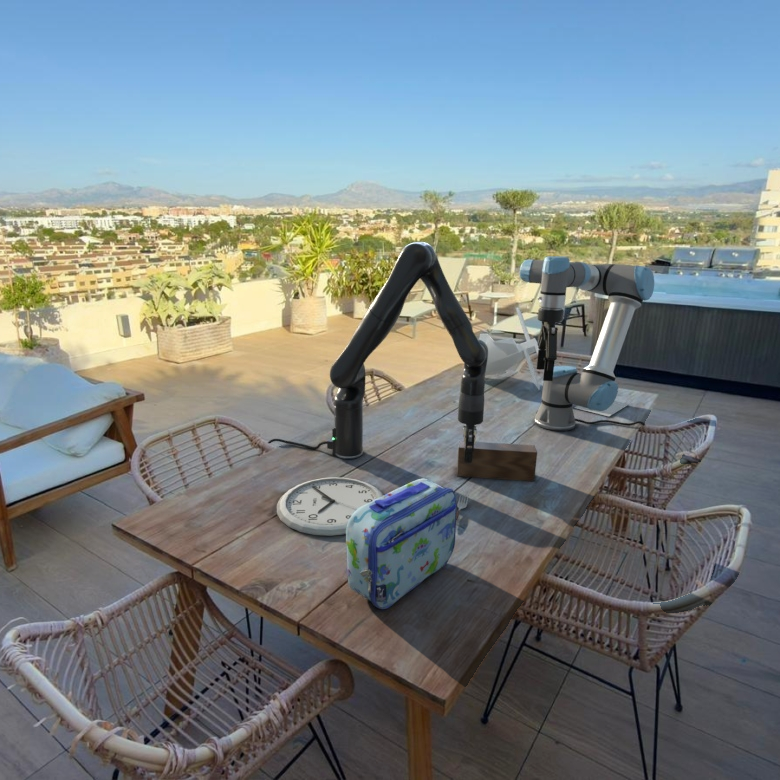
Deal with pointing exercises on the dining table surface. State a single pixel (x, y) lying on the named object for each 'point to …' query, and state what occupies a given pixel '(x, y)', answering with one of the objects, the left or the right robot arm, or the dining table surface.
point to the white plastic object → (510, 352)
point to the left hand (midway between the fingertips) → (467, 457)
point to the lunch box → (400, 540)
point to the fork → (461, 506)
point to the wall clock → (324, 504)
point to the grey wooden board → (608, 412)
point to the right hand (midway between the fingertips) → (544, 374)
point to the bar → (498, 461)
